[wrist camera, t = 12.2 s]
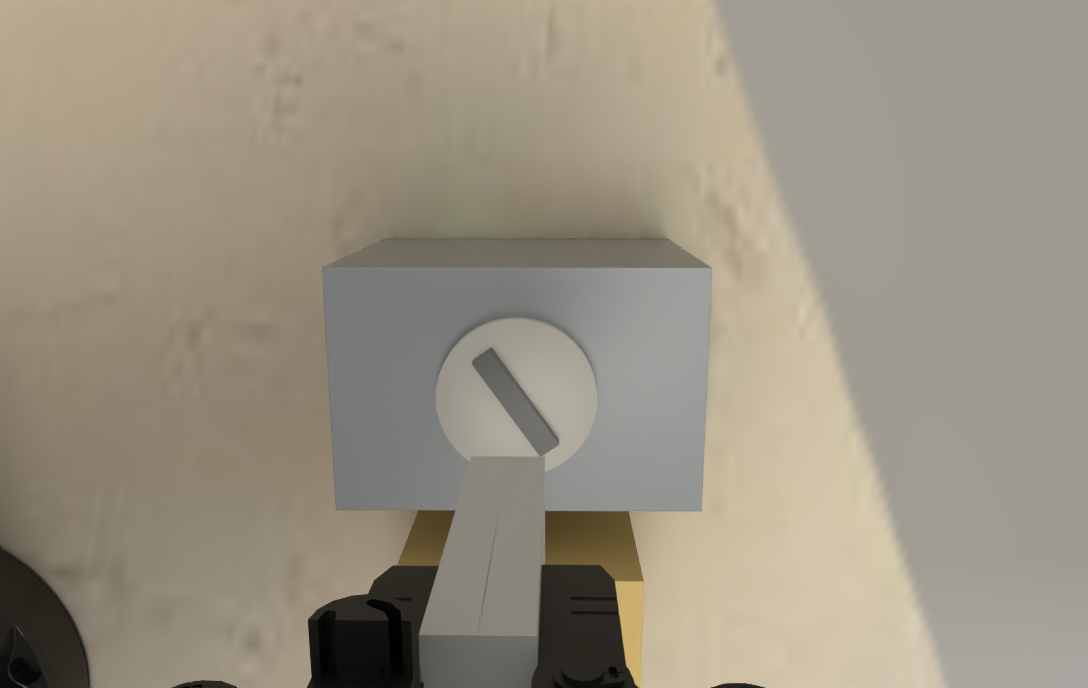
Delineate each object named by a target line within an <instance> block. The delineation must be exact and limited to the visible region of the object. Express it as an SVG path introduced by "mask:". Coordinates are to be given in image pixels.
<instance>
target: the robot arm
mask: <svg viewBox="0 0 1088 688" xmlns="http://www.w3.org/2000/svg"><path fill="white" fill-rule="evenodd" d="M308 628H309V643H310V658H311V673H312V678H311V680H310V682H309V684H308V687H307V688H639V687H638V686H636V684H635V683H634V679H633V677H632V675H631V673H630V670H629V668H627V667H626V660H625V653H624V645H623V638H622V630H621V623H620V616H619V608H618V601H617V593H616V586H615V580H614V579H613V578H612V577H611V576H610V575H609V574H608V572H607V571H606V570H605V569H604V568H603V567H602V566H601V565H545V457H515V456H471V460H470V463H469V467H468V470H467V473H466V477H465V480H464V483H463V487H462V490H461V494H460V497H459V500H458V504H457V507H456V510H455V514H454V517H453V520H452V524H451V527H450V531H449V534H448V537H447V541H446V544H445V547H444V551H443V554H442V558H441V561H440V564H439V566H392V567H391V568H389V569H388V570H387V571H385V572H384V573H383V574H382V575H380V576H379V577H378V578H377V579H375V580H374V582H373V584H372V587H371V589H370V591H369V593H368V594H366V595H355V596H349V597H346V598H342V599H339V600H335V601H332V602H330V603H328V604H327V605H325V606H323V607H321V608H319V609H318V610H317V611H316V612H315V613H314V614H313V615H312V616H311V617H310V618H309V619H308ZM0 688H88V675H87V668H86V662H85V658H84V654H83V650H82V647H81V644H80V641H79V639H78V636H77V634H76V631H75V629H74V627H73V625H72V623H71V621H70V620H69V618H68V616H67V615H66V613H65V611H64V610H63V608H62V607H61V605H60V604H59V603H58V601H57V600H56V598H55V597H54V596H53V595H52V594H51V592H50V591H49V590H48V589H47V588H46V587H45V586H44V585H43V584H42V582H41V581H40V580H38V579H37V578H36V577H35V576H34V575H33V574H32V573H31V572H30V571H29V570H27V569H26V568H25V567H24V566H22V565H21V564H20V563H18V562H17V561H16V560H14V559H13V558H11V557H10V556H8V555H7V554H5V553H4V552H2V551H0ZM172 688H237V687H236V686H233V685H231V684H228V683H225V682H222V681H204V680H201V681H193V682H191V683H190V682H188V683H184V684H180V685H177V686H175V687H172ZM712 688H765V687H760V686H757V685H752V684H746V683H726V684H722V685H718V686H715V687H712Z"/></svg>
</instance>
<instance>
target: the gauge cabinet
mask: <svg viewBox="0 0 1088 688" xmlns="http://www.w3.org/2000/svg"><path fill="white" fill-rule="evenodd" d="M322 272H323V290H324V307H325V325H326V343H327V360H328V378H329V396H330V414H331V431H332V449H333V467H334V484H335V502H336V510H456V507H457V504H458V500H459V497H460V494H461V490H462V487H463V483H464V480H465V477H466V473H467V470H468V467H469V463H470V460H471V456H515V457H545V511H702V488H703V465H704V441H705V418H706V395H707V372H708V348H709V325H710V302H711V279H712V268H711V267H710V266H708V265H707V264H705V263H704V262H702V261H701V260H699V259H698V258H696V257H695V256H693V255H691V254H690V253H688V252H687V251H685V250H684V249H682V248H681V247H679V246H678V245H676V244H675V243H673V242H672V241H670V240H669V239H384V240H382V241H380V242H378V243H375V244H373V245H371V246H369V247H366V248H364V249H362V250H360V251H358V252H355V253H353V254H351V255H349V256H347V257H344V258H342V259H340V260H338V261H335V262H333V263H331V264H329V265H327V266H324V267H322Z"/></svg>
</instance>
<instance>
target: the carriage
mask: <svg viewBox="0 0 1088 688" xmlns="http://www.w3.org/2000/svg"><path fill="white" fill-rule="evenodd" d="M454 514H455V510H419V511H418V513H417V516H416V519H415V521H414V524H413V526H412V529H411V531H410V534H409V537H408V539H407V542H406V544H405V547H404V550H403V552H402V555H401V557H400V560H399V563H398V565H397V566H439V564H440V561H441V558H442V554H443V551H444V547H445V544H446V541H447V537H448V534H449V531H450V527H451V524H452V520H453V517H454ZM545 565H601V566H602V567H603V568H604V569H605V570H606V571H607V572H608V574H609V575H610V576H611V577H612V578H613V579H614V580H615V586H616V593H617V601H618V608H619V616H620V623H621V630H622V638H623V645H624V653H625V660H626V667H627V668H629V670H630V673H631V675H632V677H633V679H634V683H635V684H636V686H638V687H639V688H641V655H642V619H643V583H644V581H643V577H642V572H641V567H640V563H639V558H638V554H637V549H636V544H635V540H634V535H633V531H632V526H631V521H630V517H629V512H628V511H545Z"/></svg>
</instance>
